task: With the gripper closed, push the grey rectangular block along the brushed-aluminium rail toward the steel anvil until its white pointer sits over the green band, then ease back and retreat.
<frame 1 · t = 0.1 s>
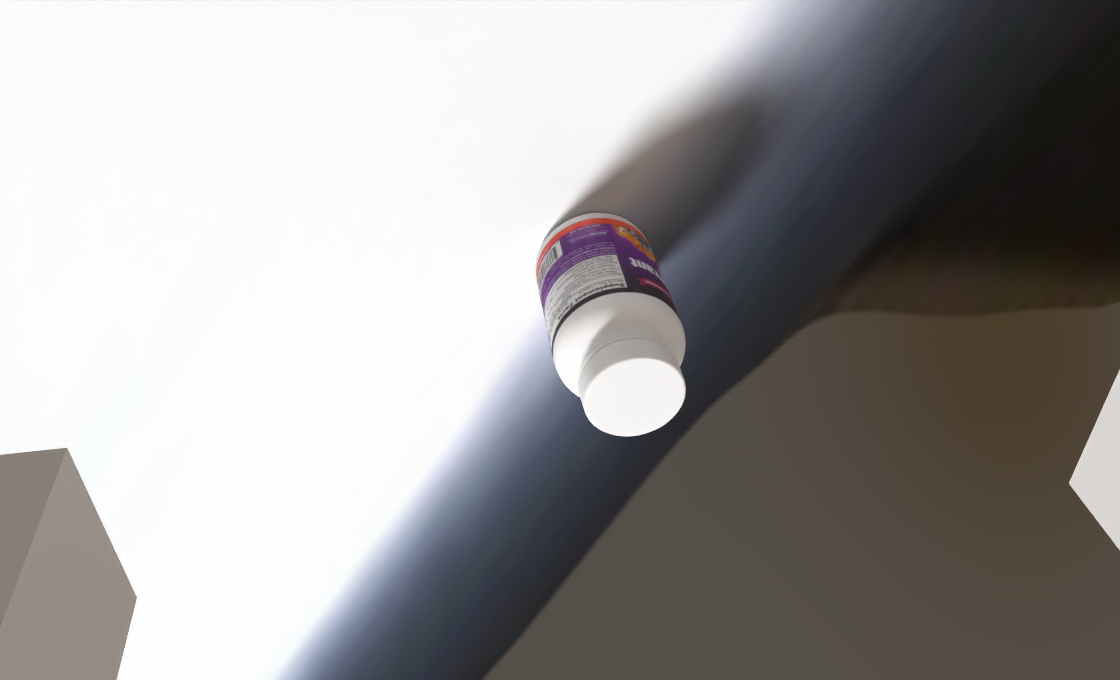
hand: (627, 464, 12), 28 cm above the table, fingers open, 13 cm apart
pill bottle: (591, 257, 44), on the table
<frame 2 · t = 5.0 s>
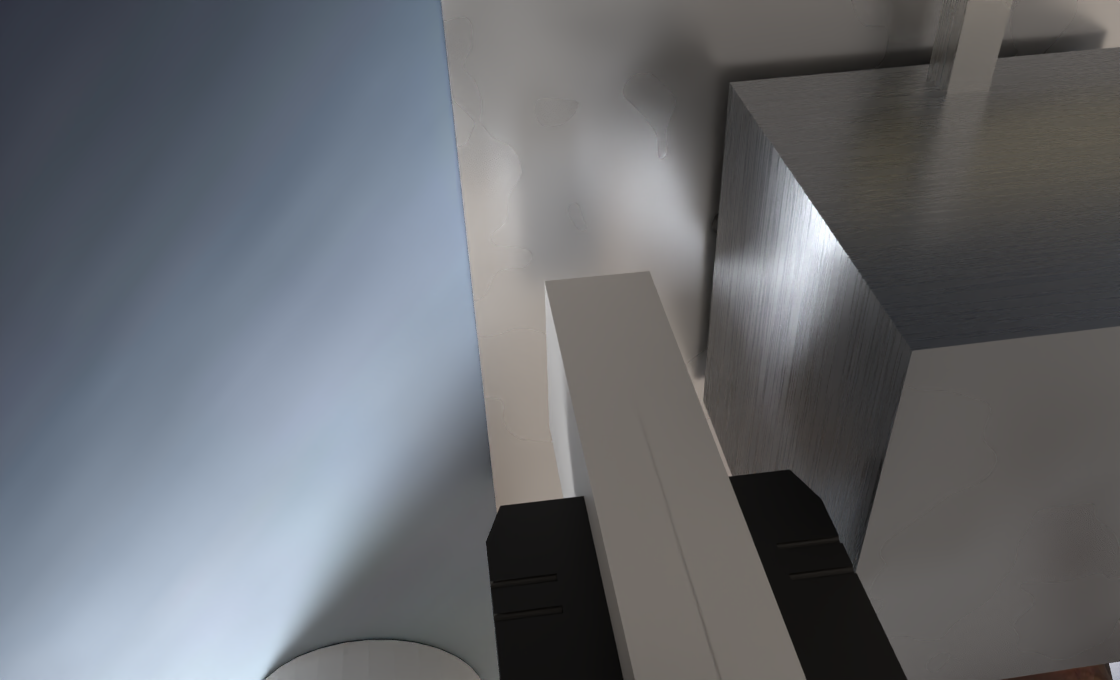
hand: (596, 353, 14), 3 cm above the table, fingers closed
grey rectangular block: (1006, 290, 13), point 5 cm above the table, slide at 0.9 cm, touching gripper
mortar and pestle: (1000, 638, 27), on the table
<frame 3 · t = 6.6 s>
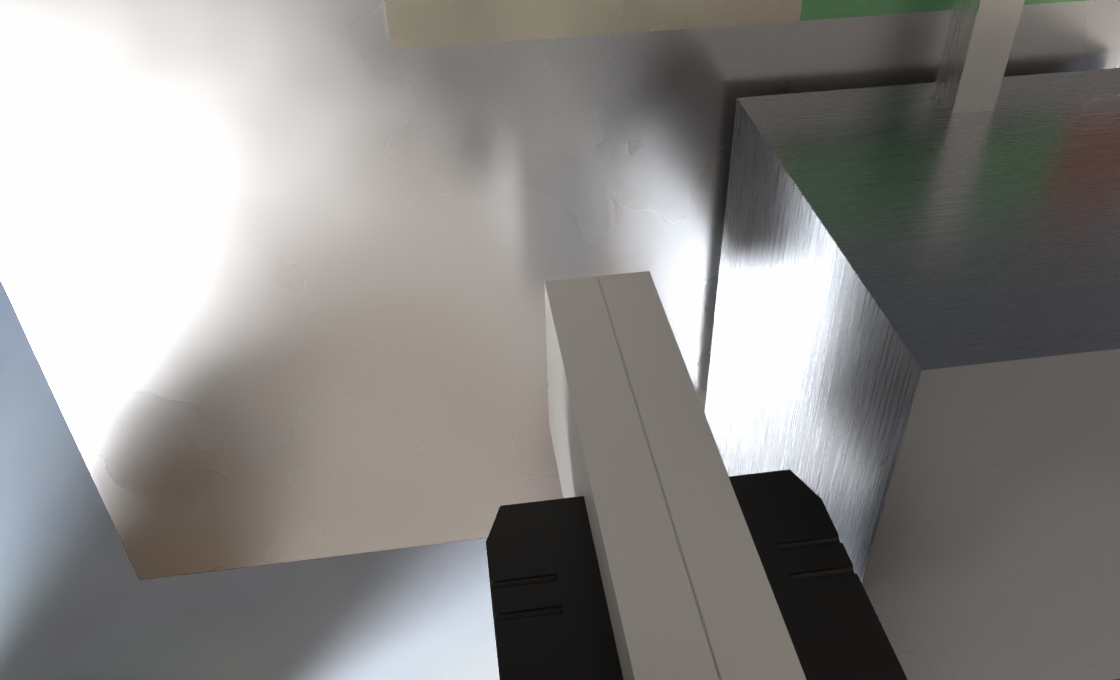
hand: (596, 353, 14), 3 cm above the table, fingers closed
grey rectangular block: (1010, 308, 13), point 5 cm above the table, slide at 7.7 cm, touching gripper
gauge base: (768, 218, 17), on the table
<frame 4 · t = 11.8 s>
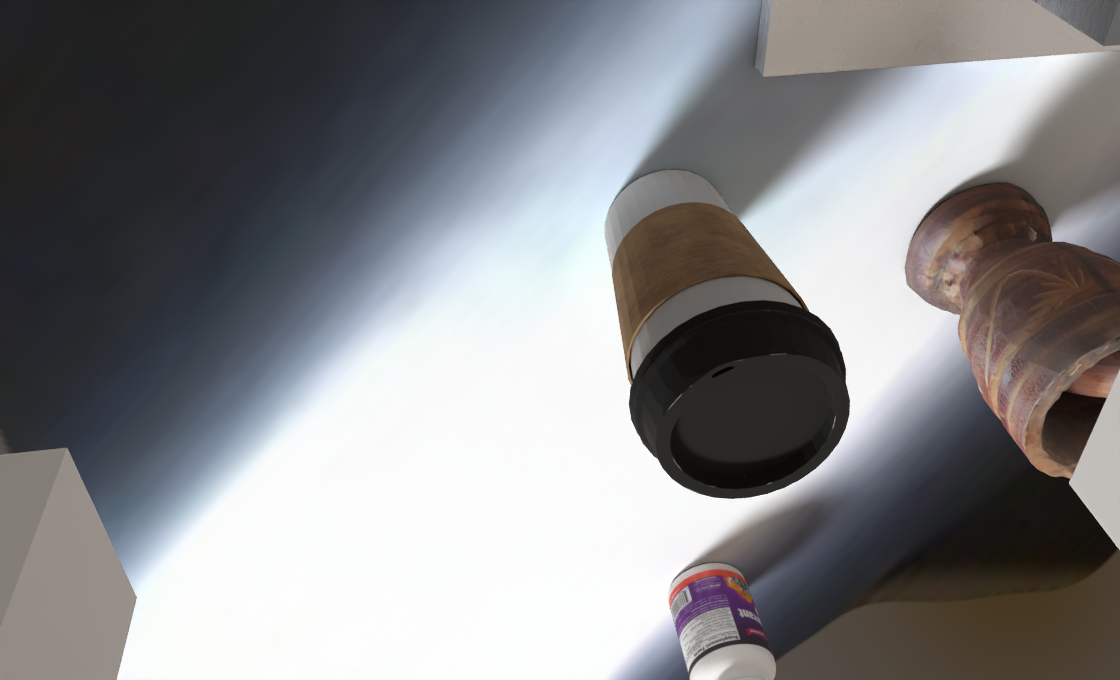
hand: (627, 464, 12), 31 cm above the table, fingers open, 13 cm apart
mortar and pestle: (991, 215, 50), on the table
coffee cup: (663, 220, 47), on the table
pill bottle: (704, 583, 65), on the table
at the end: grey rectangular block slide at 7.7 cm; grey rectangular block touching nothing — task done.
